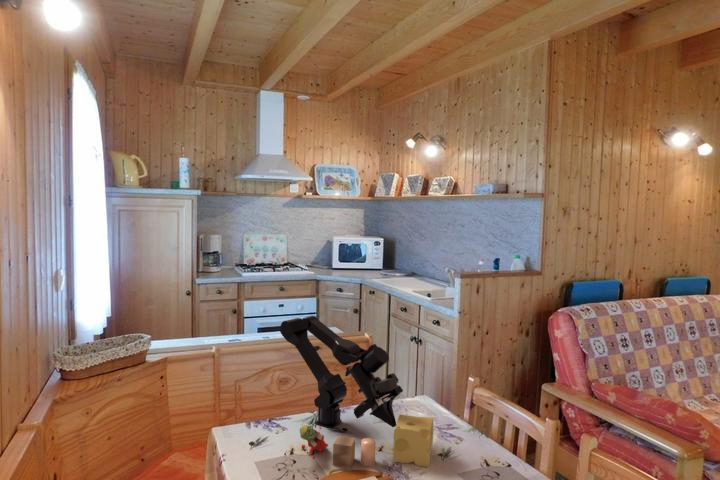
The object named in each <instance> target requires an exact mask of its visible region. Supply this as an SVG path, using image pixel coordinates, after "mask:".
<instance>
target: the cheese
mask: <svg viewBox="0 0 720 480" xmlns="http://www.w3.org/2000/svg"><path fill="white" fill-rule="evenodd" d="M433 441H434V417H431V416H430V417H429V416H416V415H407V414H401V413H400V414H399V416H398V418H397V421H396V426H395V427H394V430H393V443H392V444H393V446H392V447H393V448H392V449H393V450H392V452H393V453H392V454H393V456H392V457H393V461H392V462H394V463H400V464H401V463H402V464H410V463H414V464H415V466H419V467H424V468H430V463H431V452H432V448H433Z"/></svg>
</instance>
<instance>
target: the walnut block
mask: <svg viewBox="0 0 720 480" xmlns="http://www.w3.org/2000/svg"><path fill="white" fill-rule="evenodd" d="M332 444H333V445H332V450H333V451H332V465H333V466H338V467H344V468H351V467H352V465H353V463H354V461H355V457H356V455H355V453H356V437H351V436H345V435H337V436H336V438H335V440H334V442H333V443H332Z"/></svg>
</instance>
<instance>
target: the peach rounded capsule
mask: <svg viewBox="0 0 720 480" xmlns="http://www.w3.org/2000/svg"><path fill="white" fill-rule="evenodd" d="M376 446H377V441H376V440H375V439H374V438H371V437H370V438H369V437H366V438H363V439H361V445H360V464H361V465H363V466H364V467H372V466H374V465H376V450H377V449H376V448H377V447H376Z"/></svg>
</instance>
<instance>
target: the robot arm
mask: <svg viewBox="0 0 720 480" xmlns="http://www.w3.org/2000/svg"><path fill="white" fill-rule="evenodd" d="M279 332H280V334H281V336H282V337H283V338H284V339H285V341H286V342H288V343H289V344H290V345H293V346H295V348H296V349H297V351H298V353H299V354H300V356H301V357H302V359H303V360H304V362H305V364H306V365H307V367H308V368H309V370H310V371H311V373H312V374H313V376H314V378H315V380H316V381H317V391H318V396H317V397H316V398H315V399H313V403H314V406H315V407H316V408H318V409H317V411H318V412H317V413H318V414H317V420H316V421H315V425H318V426H320V427H321V426H322V427H325V428H329V429H333V428H335V427H336V426H337V425H339V424H340V423H341V422H342V419H341V411H342V410H341V409H340V407H341V406H340V403H343V402H344V399H345V398H346V396H347V392H348V389H347V388H348V387H347V386H346V384H347V383H346V382H345V381H344V380H343V378H342V377H341V375H340V374H339V373H336V374H333V373H331V371H330V370H329V368H328V366H327V365H326V363H325V362H324V360H323V359H322V357H321V356H320V354H319V353H318V352H317V350H316V348H315V347H314V346H313V343H312V342H311V340H310V339H309V338H308V337H309V336H308V335H309V334H308V332H309V333H310V334H312V336H314V337H315V338H316V339H317V340H319V341H320V343H323V344H324V345H325V346H326V347H327V348H328V349H330V350H331V352H332V355H333V357H334V358H335V360H336V361H337V362H339V364H340V365H342V366H347V367H346V371H345V373H344V374H345V377H346V378H347V377H349V376H351V377H352V378H353V380H354V381H355V383H356V385H357V386H358V387H359V389H357V391H358V393H359V394H361V393H362V394H363V397H365V400H363V401H362V402H360V403H359V404H358V405H357V406H355V407H354V408H353V415H354V416H355V418H356V419H357V420H358V419H360V418H362V417H363V416H364V415H365V413H366V412H368V411H369V410H371V411H370V413H369V415H370V416H374V417H375V418H377V419H379V420H381V422H384V423H386V424H387V425H389V426H390V427H391V428H395V426H396V424H397V421H396V418H395V413H394V410H393V409H394V408H393V402H394V400H395V398H396V399H397V397H399V395H400V394H402V393H403V392H404V389H403V388H402V386H401V385H398V383H399V378H398V377H397V375H396V374H395V373H394V372H392V373H389V374H387V375H386V378H385V379H381V378H380V377H379V376H375V375H374V373H377V372H378V371H379V370H380V369H381V368H382V367H383V366H384V365H386V364H387V363H388V362H389V359H390V357H389V354H388V353H387V351H386V350H385V349H383V348H382V347H380V346H378V345H377V344H376V343H372V344H371V345H370V346H368V349H365V348H362V347H361V346H360V345H359V344H357V343H355V342H353V340H352V341H351V340H350V339H345V338H342V337H341V336H340V335H338V334H337V333H336V332H334V331H333V330H332V329H330V328H329V327H328V326H327V325H325V323H323V322H321V321H320V320H319V318H318V317H317V316H315V315H310V316H309V315H308V316H305V317H303V318H300V317H296V318H291V319H287V320H283V321H282V322H281V324H280V326H279ZM348 365H349V366H348Z"/></svg>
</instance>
